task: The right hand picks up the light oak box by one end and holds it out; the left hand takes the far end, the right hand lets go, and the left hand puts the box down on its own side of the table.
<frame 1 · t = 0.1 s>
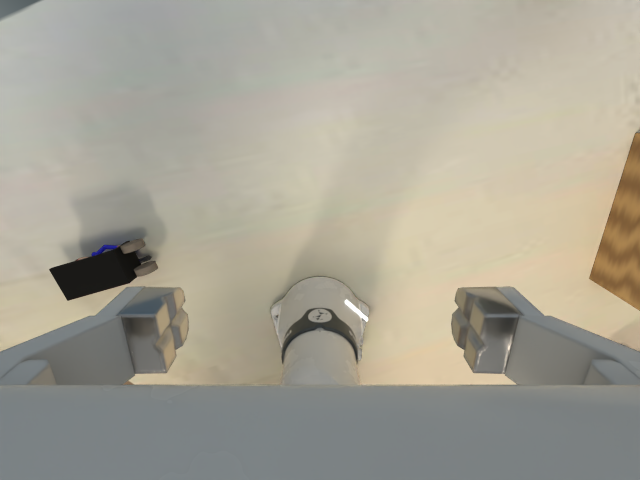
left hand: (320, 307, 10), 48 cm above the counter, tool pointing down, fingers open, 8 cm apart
box: (627, 211, 59), on the counter
figurine character: (121, 256, 62), on the counter
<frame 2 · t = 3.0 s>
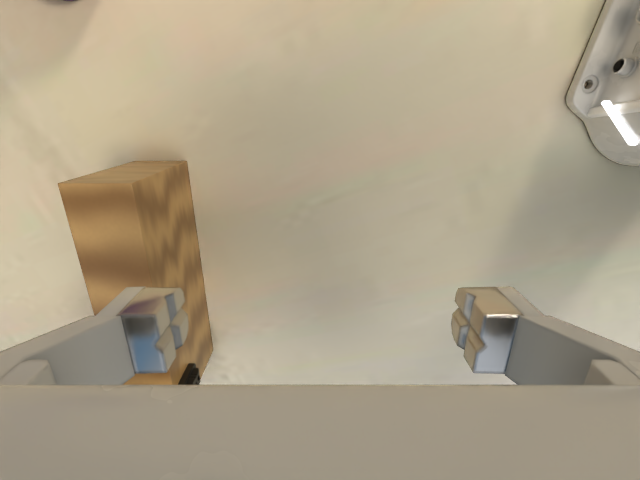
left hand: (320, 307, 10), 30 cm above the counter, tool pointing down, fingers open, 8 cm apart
box: (178, 265, 43), on the counter, touching right hand
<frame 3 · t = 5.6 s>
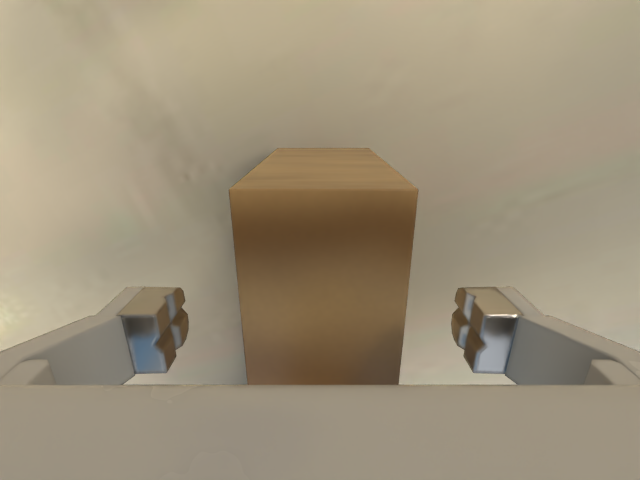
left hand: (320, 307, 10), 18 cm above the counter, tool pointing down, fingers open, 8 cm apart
box: (322, 321, 26), point 5 cm above the counter, touching right hand
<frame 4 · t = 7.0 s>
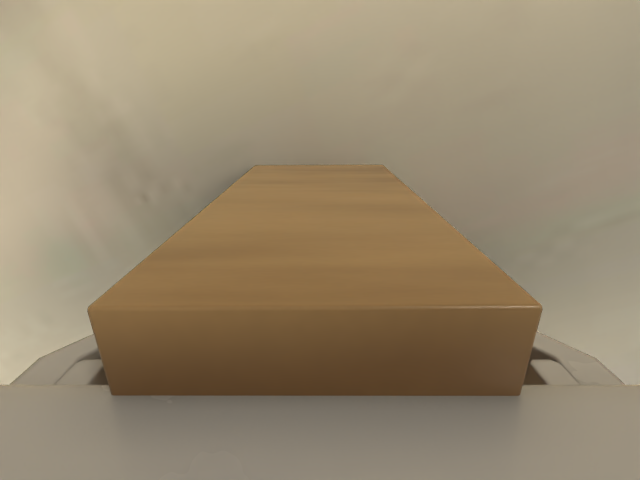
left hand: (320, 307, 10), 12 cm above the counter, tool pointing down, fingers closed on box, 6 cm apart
box: (320, 387, 20), point 5 cm above the counter, touching left hand, right hand
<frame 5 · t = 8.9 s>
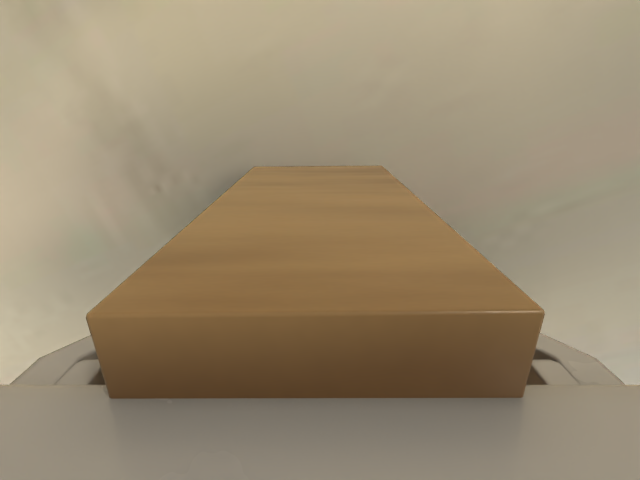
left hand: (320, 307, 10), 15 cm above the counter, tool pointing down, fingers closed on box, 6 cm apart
box: (320, 388, 20), point 8 cm above the counter, touching left hand
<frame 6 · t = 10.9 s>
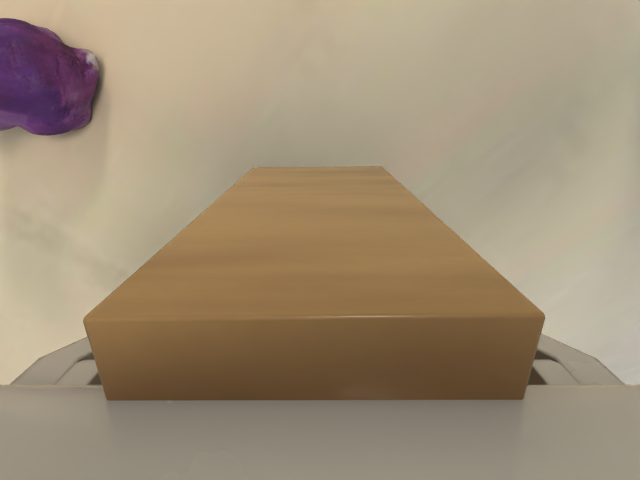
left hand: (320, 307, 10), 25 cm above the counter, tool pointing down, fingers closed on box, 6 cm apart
box: (319, 389, 20), point 18 cm above the counter, touching left hand
figurine: (49, 93, 30), on the counter
when the left hand's fingers open (8 cm above the counter, at t = 15.1 s): box stays where it is, on the counter.
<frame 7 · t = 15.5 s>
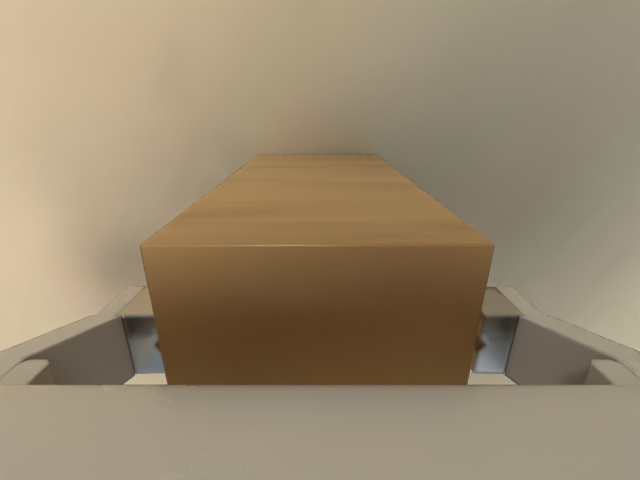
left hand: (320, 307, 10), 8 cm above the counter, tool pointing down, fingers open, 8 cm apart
box: (317, 365, 21), on the counter
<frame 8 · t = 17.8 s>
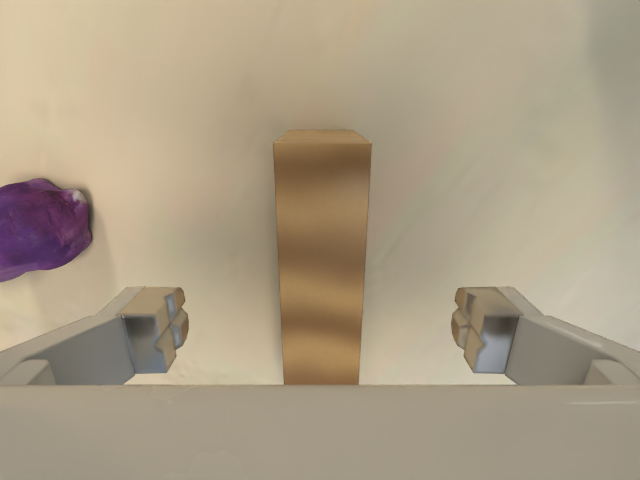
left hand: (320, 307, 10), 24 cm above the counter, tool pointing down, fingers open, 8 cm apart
box: (321, 258, 36), on the counter
figurine: (53, 226, 35), on the counter
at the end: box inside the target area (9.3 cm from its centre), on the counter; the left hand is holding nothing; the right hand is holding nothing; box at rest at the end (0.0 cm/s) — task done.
